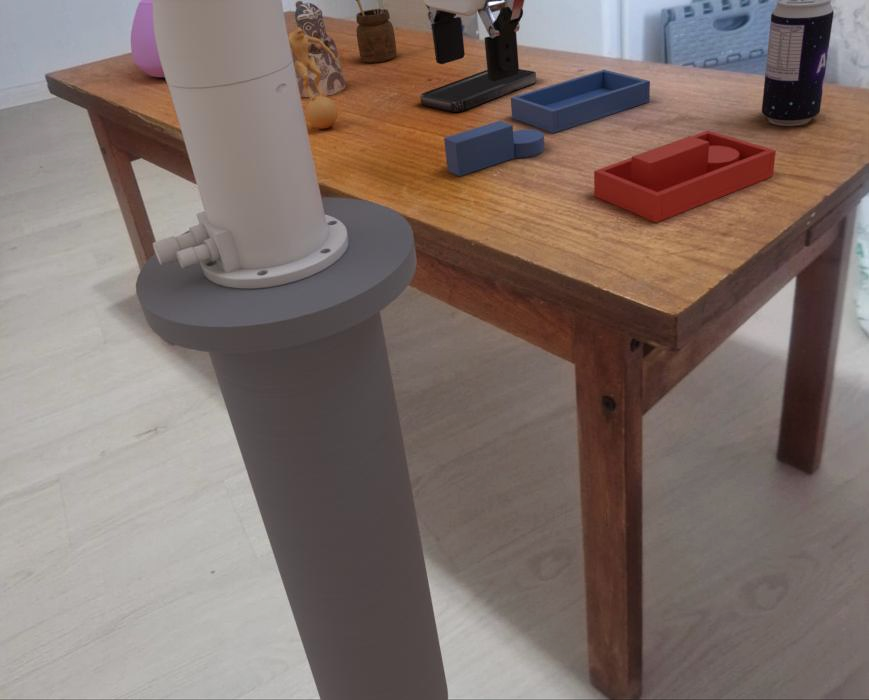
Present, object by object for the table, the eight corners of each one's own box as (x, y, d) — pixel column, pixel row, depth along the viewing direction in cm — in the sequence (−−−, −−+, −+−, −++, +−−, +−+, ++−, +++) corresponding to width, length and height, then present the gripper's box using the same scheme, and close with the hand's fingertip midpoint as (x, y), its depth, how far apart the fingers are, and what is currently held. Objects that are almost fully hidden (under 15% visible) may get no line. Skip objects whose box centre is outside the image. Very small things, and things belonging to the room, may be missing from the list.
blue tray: (553, 133, 92) (552, 111, 90) (511, 118, 98) (510, 97, 97) (649, 102, 97) (650, 80, 96) (604, 89, 103) (604, 69, 102)
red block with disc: (656, 205, 72) (658, 166, 70) (623, 191, 75) (623, 153, 73) (748, 169, 76) (752, 131, 74) (712, 158, 79) (715, 121, 77)
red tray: (656, 223, 70) (656, 195, 69) (594, 196, 76) (593, 170, 75) (773, 176, 75) (776, 150, 74) (706, 154, 81) (707, 130, 80)
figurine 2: (303, 140, 100) (282, 39, 94) (281, 131, 105) (259, 33, 98) (360, 121, 104) (343, 22, 97) (336, 113, 108) (318, 18, 102)
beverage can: (819, 128, 84) (836, 4, 77) (759, 128, 86) (772, 7, 79) (818, 110, 88) (834, -9, 81) (761, 110, 90) (773, -6, 83)
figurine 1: (303, 101, 115) (284, 11, 109) (292, 90, 121) (273, 4, 114) (351, 90, 117) (335, 1, 110) (337, 79, 123) (322, -6, 116)
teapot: (287, 56, 140) (269, -31, 132) (170, 91, 129) (143, -3, 121) (227, 43, 155) (208, -36, 147) (118, 73, 144) (91, -11, 136)
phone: (416, 95, 106) (498, 65, 114) (417, 104, 107) (499, 73, 114) (456, 104, 101) (540, 72, 109) (457, 113, 102) (540, 80, 109)
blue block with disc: (464, 179, 83) (460, 145, 82) (442, 168, 87) (438, 135, 85) (552, 149, 88) (551, 116, 86) (528, 140, 91) (526, 108, 89)
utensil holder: (383, 64, 127) (371, -19, 121) (351, 63, 130) (338, -18, 124) (404, 54, 131) (394, -27, 125) (373, 53, 134) (361, -26, 128)
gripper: (374, -121, 77) (402, 64, 87) (473, -122, 64) (492, 95, 74) (442, -134, 80) (462, 46, 89) (550, -138, 67) (559, 74, 76)
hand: (476, 68), depth 81 cm, fingers open, 9 cm apart
